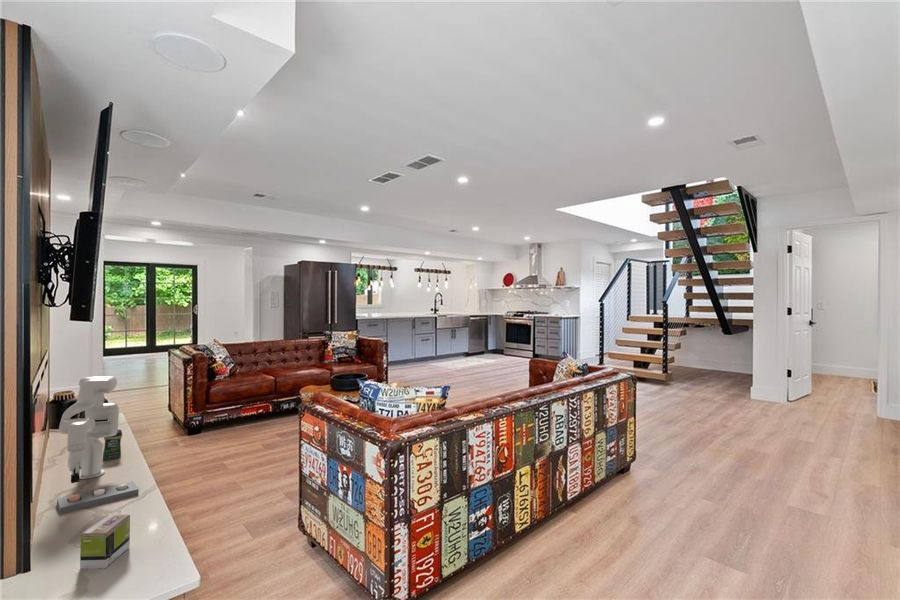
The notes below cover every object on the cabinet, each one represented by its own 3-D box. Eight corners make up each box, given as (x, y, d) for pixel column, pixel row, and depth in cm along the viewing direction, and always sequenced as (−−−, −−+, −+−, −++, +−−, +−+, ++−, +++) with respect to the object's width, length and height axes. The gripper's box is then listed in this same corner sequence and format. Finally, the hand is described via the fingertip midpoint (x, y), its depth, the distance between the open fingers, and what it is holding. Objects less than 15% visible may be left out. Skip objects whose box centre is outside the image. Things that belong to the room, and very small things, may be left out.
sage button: (116, 490, 235) (116, 485, 235) (126, 488, 238) (126, 482, 238) (118, 493, 232) (118, 487, 232) (128, 490, 235) (128, 485, 235)
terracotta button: (67, 502, 220) (68, 496, 220) (79, 499, 224) (79, 493, 224) (69, 505, 217) (69, 499, 217) (80, 502, 221) (80, 496, 221)
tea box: (105, 548, 185) (107, 513, 185) (130, 547, 186) (131, 513, 186) (78, 569, 170) (80, 532, 170) (105, 569, 171) (106, 532, 171)
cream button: (92, 496, 228) (93, 490, 228) (103, 493, 231) (103, 488, 231) (94, 499, 225) (94, 493, 225) (104, 496, 228) (105, 490, 228)
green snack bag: (102, 461, 278) (103, 432, 278) (103, 457, 285) (104, 429, 285) (120, 458, 284) (122, 430, 284) (121, 455, 290) (122, 427, 290)
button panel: (56, 504, 221) (57, 498, 221) (132, 486, 244) (132, 481, 244) (59, 514, 211) (60, 507, 211) (138, 494, 235) (138, 489, 235)
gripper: (65, 444, 223) (63, 479, 223) (69, 451, 213) (67, 488, 213) (84, 441, 228) (82, 475, 228) (88, 448, 218) (86, 484, 218)
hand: (75, 481), depth 220 cm, fingers closed
